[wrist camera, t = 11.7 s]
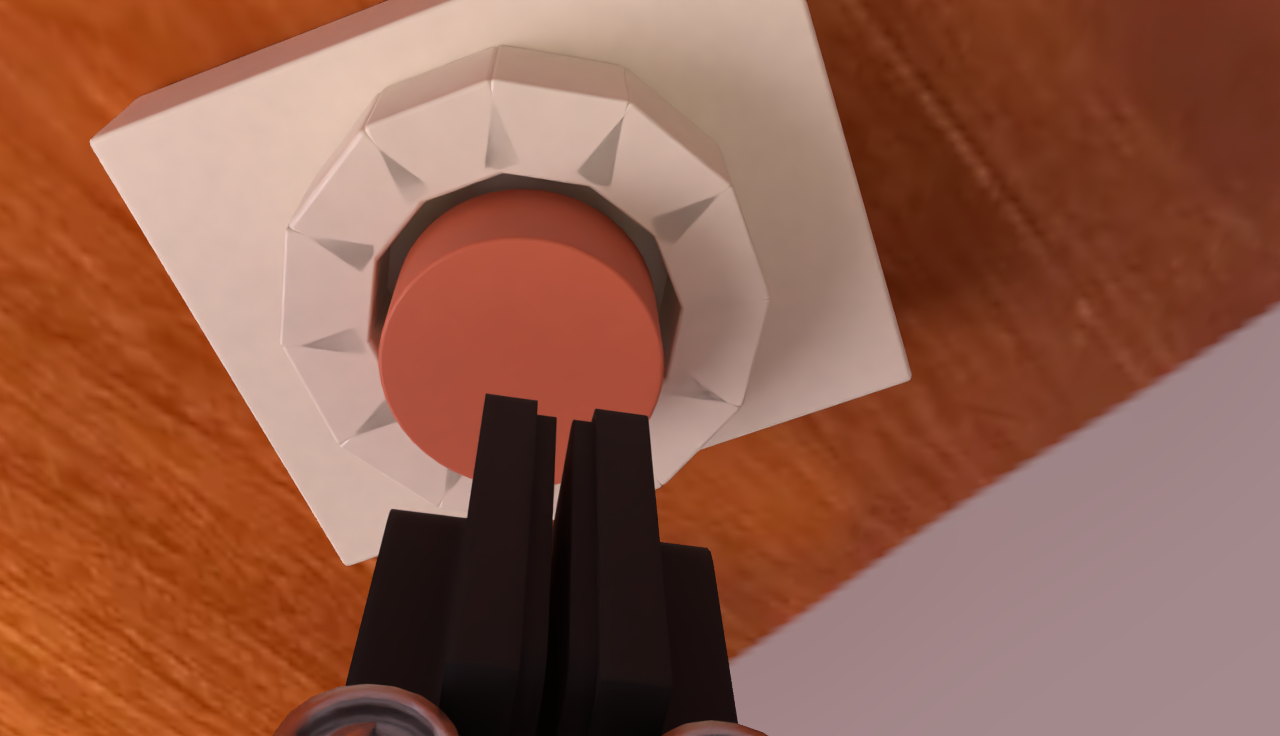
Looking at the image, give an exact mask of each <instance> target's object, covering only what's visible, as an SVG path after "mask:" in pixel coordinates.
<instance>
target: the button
mask: <svg viewBox="0 0 1280 736" xmlns="http://www.w3.org/2000/svg"><path fill="white" fill-rule="evenodd" d="M378 366H379V374H380V381H381V385H382V389H383V392H384V396H385V399H386V401H387V403H388V405H389V408H390V410H391V412H392V414H393V416H394V417H395V419H396V420H397V422H398V424H399V425H400V427H401V428H402V430H403V431H404V432H405V433H406V434H407V436H408V437H409V438H410V439H411V440H412V442H413V443H415V444H416V445H417V446H418V447H419V448H420V449H421V450H422V451H423V452H424V453H425V454H427V455H428V456H429V457H431V458H432V459H434V460H435V461H436V462H438V463H439V464H441V465H443V466H445V467H446V468H448V469H450V470H452V471H453V472H456V473H458V474H460V475H463V476H465V477H468V478H470V479H473V474H474V467H475V461H476V454H477V447H478V441H479V434H480V427H481V421H482V414H483V407H484V401H485V394H486V393H487V394H494V395H501V396H509V397H516V398H523V399H530V400H538V410H537V415H545V416H552V417H557V430H556V454H555V478H554V485H555V484H560V483H561V479H562V473H563V467H564V462H565V456H566V451H567V445H568V440H569V434H570V429H571V425H572V421H573V419H574V420H582V421H589V422H591V421H592V417H593V413H594V410H595V408H596V409H603V410H611V411H618V412H625V413H632V414H640V415H646V416H648V420H649V419H650V418H651V416H652V413H653V411H654V409H655V407H656V405H657V402H658V399H659V396H660V392H661V389H662V383H663V376H664V350H663V344H662V337H661V331H660V325H659V318H658V312H657V305H656V299H655V292H654V286H653V282H652V279H651V276H650V272H649V269H648V267H647V265H646V263H645V261H644V259H643V256H642V255H641V253H640V252H639V250H638V248H637V247H636V245H635V244H634V242H633V241H632V240H631V239H630V238H629V236H628V235H627V234H626V233H625V232H624V231H623V229H622V228H620V227H619V226H618V225H617V224H616V223H615V222H614V221H612V220H611V219H610V218H609V217H607V216H606V215H605V214H603V213H602V212H600V211H599V210H597V209H596V208H594V207H592V206H590V205H588V204H586V203H584V202H582V201H580V200H577V199H574V198H572V197H569V196H566V195H563V194H559V193H554V192H550V191H545V190H534V189H509V190H503V191H496V192H491V193H487V194H484V195H480V196H477V197H474V198H472V199H469V200H467V201H465V202H462V203H460V204H458V205H456V206H455V207H453V208H451V209H450V210H448V211H447V212H445V213H443V214H442V215H441V216H440V217H438V218H437V219H436V220H435V221H433V222H432V223H431V224H430V225H429V226H428V227H427V228H426V229H425V230H424V231H423V233H422V234H421V235H420V236H419V237H418V239H417V240H416V241H415V243H414V244H413V246H412V247H411V249H410V250H409V252H408V254H407V256H406V258H405V260H404V262H403V265H402V268H401V271H400V274H399V277H398V280H397V283H396V286H395V290H394V293H393V296H392V300H391V303H390V306H389V309H388V313H387V316H386V319H385V323H384V326H383V329H382V332H381V338H380V344H379V360H378Z"/></svg>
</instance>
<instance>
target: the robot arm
mask: <svg viewBox="0 0 1280 736" xmlns="http://www.w3.org/2000/svg"><path fill="white" fill-rule="evenodd" d="M537 410H538V400H530V399H523V398H516V397H509V396H501V395H494V394H487V393H486V394H485V401H484V407H483V414H482V421H481V427H480V434H479V441H478V447H477V454H476V461H475V467H474V474H473V480H472V487H471V494H470V500H469V507H468V514H467V518H462V517H454V516H446V515H438V514H430V513H422V512H414V511H406V510H398V509H391V510H390V512H389V515H388V519H387V522H386V526H385V530H384V534H383V538H382V542H381V546H380V550H379V554H378V558H377V562H376V566H375V570H374V574H373V578H372V582H371V586H370V590H369V594H368V598H367V602H366V606H365V610H364V614H363V618H362V622H361V626H360V630H359V634H358V638H357V642H356V646H355V650H354V654H353V658H352V662H351V666H350V670H349V674H348V678H347V682H346V686H344V687H338V688H335V689H332V690H329V691H327V692H324V693H321V694H318V695H315V696H313V697H311V698H310V699H308V700H307V701H305V702H304V703H302V704H301V705H299V706H298V707H297V708H295V709H294V710H292V711H291V712H290V713H289V714H288V715H287V717H286V718H285V719H284V721H283V722H282V723H281V724H280V726H279V727H278V728H277V730H276V731H275V733H274V734H273V736H768V735H766V734H764V733H763V732H760V731H757V730H754V729H751V728H749V727H746V726H743V725H740V724H738V721H737V714H736V708H735V701H734V695H733V688H732V682H731V675H730V669H729V662H728V656H727V649H726V643H725V636H724V630H723V623H722V617H721V610H720V604H719V597H718V591H717V584H716V578H715V571H714V565H713V560H712V556H711V552H710V551H709V550H708V549H707V548H703V547H695V546H687V545H679V544H671V543H663V542H660V538H659V527H658V516H657V505H656V495H655V484H654V473H653V462H652V451H651V440H650V429H649V420H648V416H646V415H640V414H632V413H625V412H618V411H611V410H603V409H596V408H595V410H594V413H593V417H592V421H591V422H589V421H582V420H574V419H573V421H572V425H571V429H570V434H569V440H568V445H567V451H566V456H565V462H564V467H563V473H562V479H561V484H560V490H559V495H558V501H557V506H556V512H555V518H554V523H553V503H554V478H555V454H556V430H557V417H552V416H545V415H537ZM552 527H553V529H552Z"/></svg>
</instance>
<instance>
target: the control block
mask: <svg viewBox="0 0 1280 736" xmlns="http://www.w3.org/2000/svg"><path fill="white" fill-rule="evenodd" d="M90 145H91V147H92V149H93V150H94V152H95V154H96V155H97V157H98V159H99V160H100V162H101V164H102V165H103V167H104V169H105V170H106V172H107V174H108V175H109V177H110V179H111V180H112V182H113V183H114V185H115V187H116V188H117V190H118V192H119V193H120V195H121V197H122V198H123V200H124V202H125V203H126V205H127V207H128V208H129V210H130V212H131V213H132V215H133V217H134V218H135V220H136V221H137V223H138V225H139V226H140V228H141V230H142V231H143V233H144V235H145V236H146V238H147V240H148V241H149V243H150V245H151V246H152V248H153V250H154V251H155V253H156V254H157V256H158V258H159V259H160V261H161V263H162V264H163V266H164V268H165V269H166V271H167V273H168V274H169V276H170V278H171V279H172V281H173V283H174V284H175V286H176V288H177V289H178V291H179V292H180V294H181V296H182V297H183V299H184V301H185V302H186V304H187V306H188V307H189V309H190V311H191V312H192V314H193V316H194V317H195V319H196V321H197V322H198V324H199V326H200V327H201V329H202V330H203V332H204V334H205V335H206V337H207V339H208V340H209V342H210V344H211V345H212V347H213V349H214V350H215V352H216V354H217V355H218V357H219V359H220V360H221V362H222V364H223V365H224V367H225V368H226V370H227V372H228V373H229V375H230V377H231V378H232V380H233V382H234V383H235V385H236V387H237V388H238V390H239V392H240V393H241V395H242V397H243V398H244V400H245V401H246V403H247V405H248V406H249V408H250V410H251V411H252V413H253V415H254V416H255V418H256V420H257V421H258V423H259V425H260V426H261V428H262V430H263V431H264V433H265V435H266V436H267V438H268V439H269V441H270V443H271V444H272V446H273V448H274V449H275V451H276V453H277V454H278V456H279V458H280V459H281V461H282V463H283V464H284V466H285V468H286V469H287V471H288V473H289V474H290V476H291V477H292V479H293V481H294V482H295V484H296V486H297V487H298V489H299V491H300V492H301V494H302V496H303V497H304V499H305V501H306V502H307V504H308V506H309V507H310V509H311V511H312V512H313V514H314V515H315V517H316V519H317V520H318V522H319V524H320V525H321V527H322V529H323V530H324V532H325V534H326V535H327V537H328V539H329V540H330V542H331V544H332V545H333V547H334V548H335V550H336V552H337V553H338V555H339V557H340V558H341V560H342V562H343V563H344V564H345V565H346V566H350V565H353V564H356V563H359V562H362V561H365V560H368V559H371V558H374V557H377V556H378V554H379V550H380V546H381V542H382V538H383V534H384V530H385V526H386V522H387V519H388V515H389V512H390V510H391V509H398V510H406V511H414V512H422V513H430V514H438V515H446V516H454V517H462V518H467V514H468V507H469V500H470V494H471V487H472V480H473V479H470V478H468V477H465V476H463V475H460V474H458V473H456V472H453V471H452V470H450V469H448V468H446V467H445V466H443V465H441V464H439V463H438V462H436V461H435V460H434V459H432V458H431V457H429V456H428V455H427V454H425V453H424V452H423V451H422V450H421V449H420V448H419V447H418V446H417V445H416V444H415V443H413V442H412V440H411V439H410V438H409V437H408V436H407V434H406V433H405V432H404V431H403V430H402V428H401V427H400V425H399V424H398V422H397V420H396V419H395V417H394V416H393V414H392V412H391V410H390V408H389V405H388V403H387V401H386V399H385V396H384V392H383V389H382V385H381V381H380V374H379V366H378V360H379V344H380V338H381V332H382V329H383V326H384V323H385V319H386V316H387V313H388V309H389V306H390V303H391V300H392V296H393V293H394V290H395V286H396V283H397V280H398V277H399V274H400V271H401V268H402V265H403V262H404V260H405V258H406V256H407V254H408V252H409V250H410V249H411V247H412V246H413V244H414V243H415V241H416V240H417V239H418V237H419V236H420V235H421V234H422V233H423V231H424V230H425V229H426V228H427V227H428V226H429V225H430V224H431V223H432V222H433V221H435V220H436V219H437V218H438V217H440V216H441V215H442V214H443V213H445V212H447V211H448V210H450V209H451V208H453V207H455V206H456V205H458V204H460V203H462V202H465V201H467V200H469V199H472V198H474V197H477V196H480V195H484V194H487V193H491V192H496V191H503V190H509V189H534V190H545V191H550V192H554V193H559V194H563V195H566V196H569V197H572V198H574V199H577V200H580V201H582V202H584V203H586V204H588V205H590V206H592V207H594V208H596V209H597V210H599V211H600V212H602V213H603V214H605V215H606V216H607V217H609V218H610V219H611V220H612V221H614V222H615V223H616V224H617V225H618V226H619V227H620V228H622V229H623V231H624V232H625V233H626V234H627V235H628V236H629V238H630V239H631V240H632V241H633V242H634V244H635V245H636V247H637V248H638V250H639V252H640V253H641V255H642V256H643V259H644V261H645V263H646V265H647V267H648V269H649V272H650V276H651V279H652V282H653V286H654V292H655V299H656V305H657V312H658V318H659V325H660V331H661V337H662V344H663V350H664V376H663V383H662V389H661V392H660V396H659V399H658V402H657V405H656V407H655V409H654V411H653V413H652V416H651V418H650V419H649V429H650V440H651V451H652V462H653V473H654V484H655V489H658V488H660V487H661V486H662V484H666V483H667V482H668V481H669V480H670V479H671V478H672V477H673V476H674V475H675V474H676V473H677V472H678V471H679V470H680V469H681V468H682V467H683V466H684V465H685V464H686V463H687V462H688V461H689V460H690V459H691V458H692V457H693V456H694V455H695V454H696V453H697V452H698V451H699V450H701V449H704V448H707V447H710V446H713V445H716V444H719V443H722V442H725V441H728V440H731V439H734V438H737V437H740V436H743V435H746V434H749V433H753V432H756V431H759V430H762V429H765V428H768V427H771V426H774V425H777V424H780V423H783V422H786V421H789V420H792V419H795V418H798V417H801V416H804V415H807V414H810V413H813V412H816V411H819V410H822V409H825V408H828V407H831V406H834V405H837V404H840V403H843V402H846V401H849V400H852V399H856V398H859V397H862V396H865V395H868V394H871V393H874V392H877V391H880V390H883V389H886V388H889V387H892V386H895V385H898V384H901V383H904V382H907V381H909V380H910V379H911V375H912V373H911V370H910V366H909V363H908V359H907V356H906V352H905V349H904V345H903V341H902V338H901V334H900V331H899V327H898V324H897V320H896V317H895V313H894V310H893V306H892V302H891V299H890V295H889V292H888V288H887V285H886V281H885V278H884V274H883V270H882V267H881V263H880V260H879V256H878V253H877V249H876V246H875V242H874V239H873V235H872V231H871V228H870V224H869V221H868V217H867V214H866V210H865V207H864V203H863V200H862V196H861V192H860V189H859V185H858V182H857V178H856V175H855V171H854V168H853V164H852V161H851V157H850V153H849V150H848V146H847V143H846V139H845V136H844V132H843V129H842V125H841V121H840V118H839V114H838V111H837V107H836V104H835V100H834V97H833V93H832V90H831V86H830V82H829V79H828V75H827V72H826V68H825V65H824V61H823V58H822V54H821V51H820V47H819V43H818V40H817V36H816V33H815V29H814V26H813V22H812V19H811V15H810V12H809V8H808V4H807V1H806V0H388V1H385V2H382V3H380V4H377V5H375V6H372V7H370V8H367V9H364V10H362V11H359V12H357V13H354V14H352V15H349V16H346V17H344V18H341V19H339V20H336V21H334V22H331V23H328V24H326V25H323V26H321V27H318V28H316V29H313V30H310V31H308V32H305V33H303V34H300V35H297V36H295V37H292V38H290V39H287V40H285V41H282V42H279V43H277V44H274V45H272V46H269V47H267V48H264V49H261V50H259V51H256V52H254V53H251V54H249V55H246V56H243V57H241V58H238V59H236V60H233V61H230V62H228V63H225V64H223V65H220V66H218V67H215V68H212V69H210V70H207V71H205V72H202V73H200V74H197V75H194V76H192V77H189V78H187V79H184V80H182V81H179V82H176V83H174V84H171V85H169V86H166V87H164V88H161V89H158V90H156V91H153V92H151V93H148V94H145V95H143V96H140V97H138V98H137V99H136V100H135V101H134V102H132V103H131V104H130V105H129V106H128V107H127V108H126V109H124V110H123V111H122V112H121V113H120V114H119V115H118V116H116V117H115V118H114V119H113V120H112V121H111V122H110V123H108V124H107V125H106V126H105V127H104V128H103V129H101V130H100V131H99V132H98V133H97V134H96V135H95V136H93V137H92V139H91V140H90ZM560 484H561V483H560ZM560 484H555V485H554V503H553V520H554V518H555V512H556V506H557V501H558V495H559V490H560Z"/></svg>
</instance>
